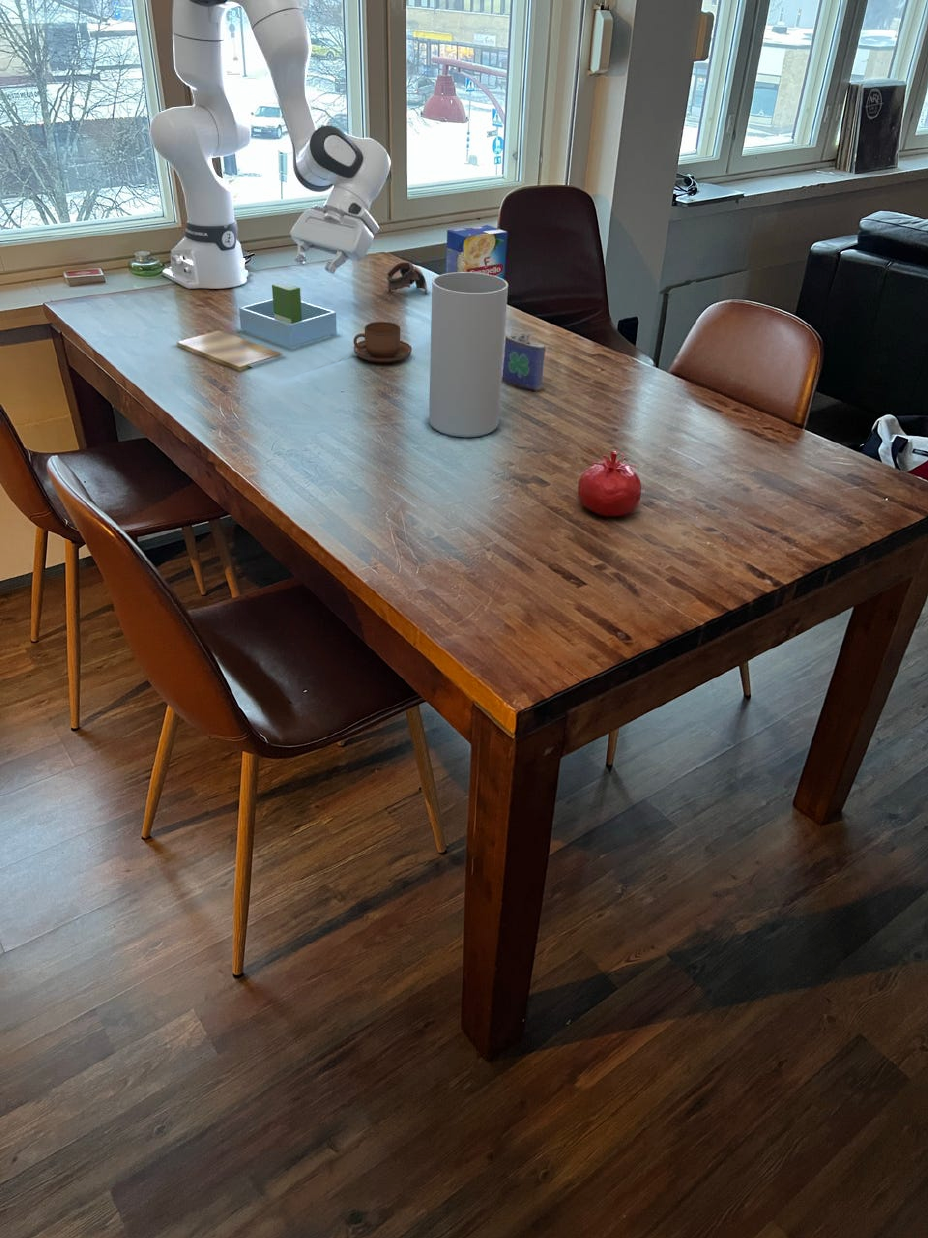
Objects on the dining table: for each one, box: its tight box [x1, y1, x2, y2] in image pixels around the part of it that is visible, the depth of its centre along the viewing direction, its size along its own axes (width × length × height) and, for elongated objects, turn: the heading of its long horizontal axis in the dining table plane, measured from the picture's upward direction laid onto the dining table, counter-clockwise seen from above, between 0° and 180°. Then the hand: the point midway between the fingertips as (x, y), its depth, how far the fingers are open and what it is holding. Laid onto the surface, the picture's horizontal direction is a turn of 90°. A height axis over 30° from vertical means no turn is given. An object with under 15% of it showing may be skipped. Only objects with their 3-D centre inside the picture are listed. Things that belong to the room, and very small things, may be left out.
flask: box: [501, 331, 546, 393], centre depth 181 cm, size 9×3×11 cm, turn 50°
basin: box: [238, 298, 338, 348], centre depth 201 cm, size 16×13×5 cm
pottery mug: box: [386, 260, 429, 295], centre depth 232 cm, size 12×10×8 cm
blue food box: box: [445, 224, 508, 280], centre depth 202 cm, size 7×11×22 cm, turn 127°
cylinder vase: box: [428, 272, 509, 438], centre depth 160 cm, size 12×12×25 cm
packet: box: [271, 281, 302, 324], centre depth 200 cm, size 6×3×10 cm, turn 51°
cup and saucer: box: [353, 321, 412, 363], centre depth 192 cm, size 12×12×6 cm
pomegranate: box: [577, 450, 642, 518], centre depth 141 cm, size 10×10×9 cm
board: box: [176, 330, 283, 372], centre depth 192 cm, size 20×11×1 cm, turn 51°
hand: (313, 267), depth 201 cm, fingers open, 8 cm apart
